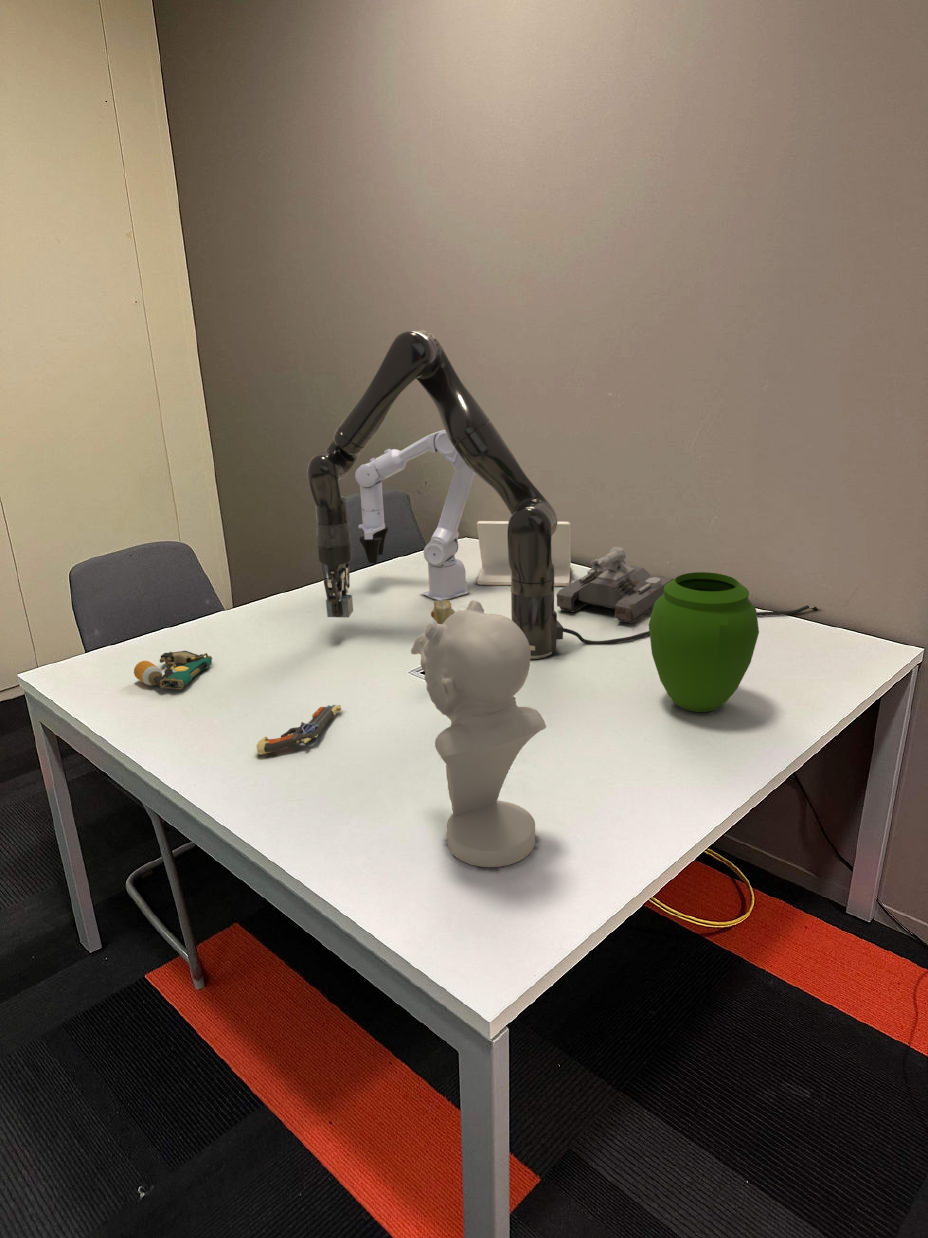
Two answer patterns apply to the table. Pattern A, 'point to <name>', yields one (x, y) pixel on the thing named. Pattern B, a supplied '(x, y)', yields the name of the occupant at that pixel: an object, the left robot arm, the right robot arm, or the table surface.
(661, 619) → the vase
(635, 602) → the toy
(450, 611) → the sculpture
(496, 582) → the tablet stand
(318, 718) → the toy gun
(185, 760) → the table surface
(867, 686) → the table surface
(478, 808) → the bust sculpture
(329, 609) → the block
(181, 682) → the spray gun
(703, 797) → the table surface
